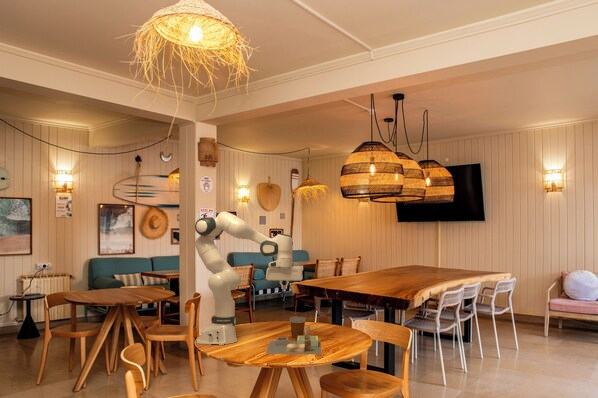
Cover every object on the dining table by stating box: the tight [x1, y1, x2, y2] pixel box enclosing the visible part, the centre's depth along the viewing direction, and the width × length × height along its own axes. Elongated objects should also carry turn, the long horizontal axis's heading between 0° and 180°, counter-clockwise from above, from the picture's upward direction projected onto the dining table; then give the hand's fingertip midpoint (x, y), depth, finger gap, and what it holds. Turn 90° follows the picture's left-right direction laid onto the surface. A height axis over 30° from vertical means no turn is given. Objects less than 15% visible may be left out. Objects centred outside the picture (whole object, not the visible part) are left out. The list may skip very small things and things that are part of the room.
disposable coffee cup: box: [289, 315, 306, 340], centre depth 267 cm, size 10×10×12 cm
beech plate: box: [287, 344, 305, 352], centre depth 238 cm, size 9×7×2 cm
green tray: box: [296, 335, 319, 347], centre depth 250 cm, size 11×10×4 cm
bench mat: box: [265, 340, 322, 355], centre depth 244 cm, size 28×26×1 cm
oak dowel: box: [304, 325, 311, 340], centre depth 250 cm, size 3×3×9 cm
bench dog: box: [305, 340, 311, 351], centre depth 238 cm, size 3×3×5 cm
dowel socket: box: [275, 336, 289, 346], centre depth 250 cm, size 6×6×3 cm
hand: (284, 288), depth 253 cm, fingers closed
